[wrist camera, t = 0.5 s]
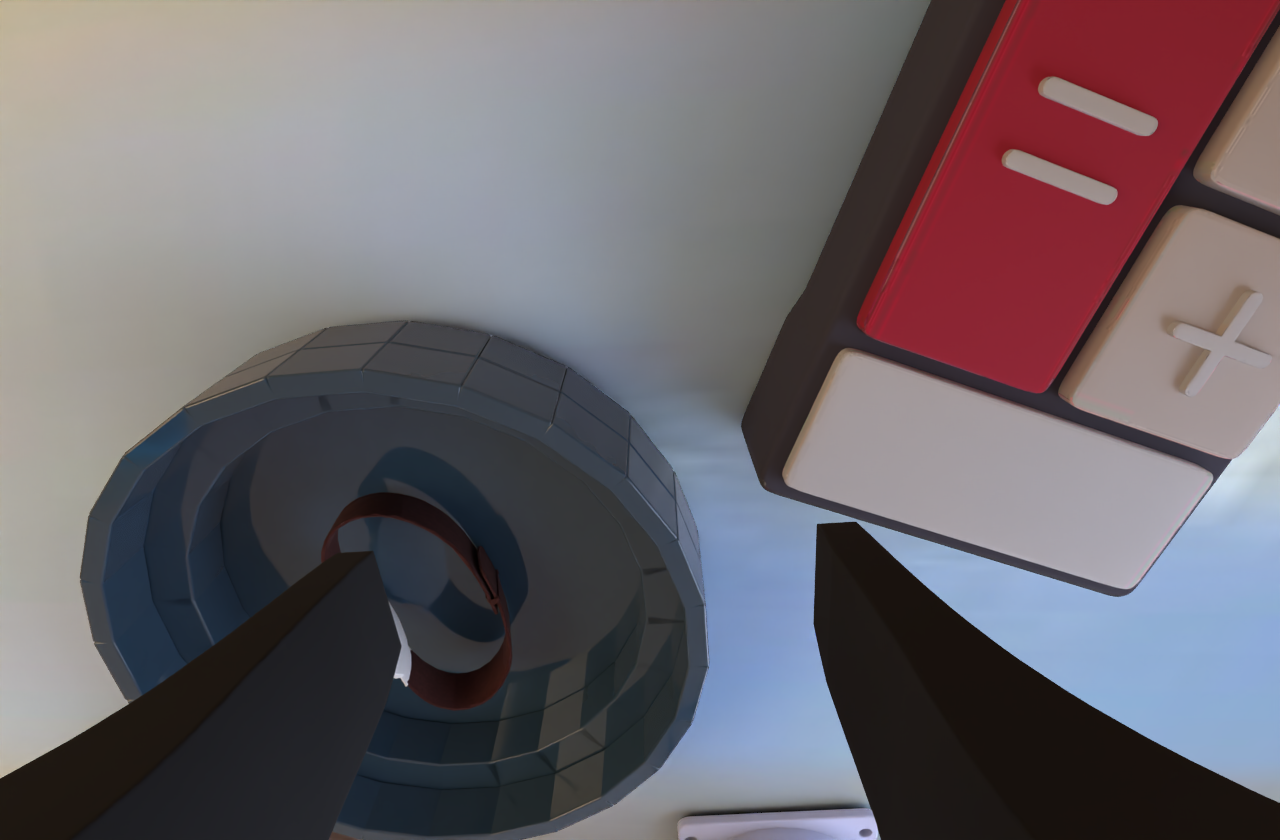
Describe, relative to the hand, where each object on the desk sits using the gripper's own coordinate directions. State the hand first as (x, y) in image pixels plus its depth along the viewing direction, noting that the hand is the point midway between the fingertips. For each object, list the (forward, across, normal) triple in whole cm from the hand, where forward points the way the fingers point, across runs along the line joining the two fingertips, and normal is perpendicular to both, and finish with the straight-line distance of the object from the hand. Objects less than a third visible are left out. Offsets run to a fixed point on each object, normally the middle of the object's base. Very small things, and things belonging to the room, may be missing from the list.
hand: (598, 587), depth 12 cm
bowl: (+10, +7, +7) cm, 14 cm away
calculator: (+10, -11, -2) cm, 15 cm away
